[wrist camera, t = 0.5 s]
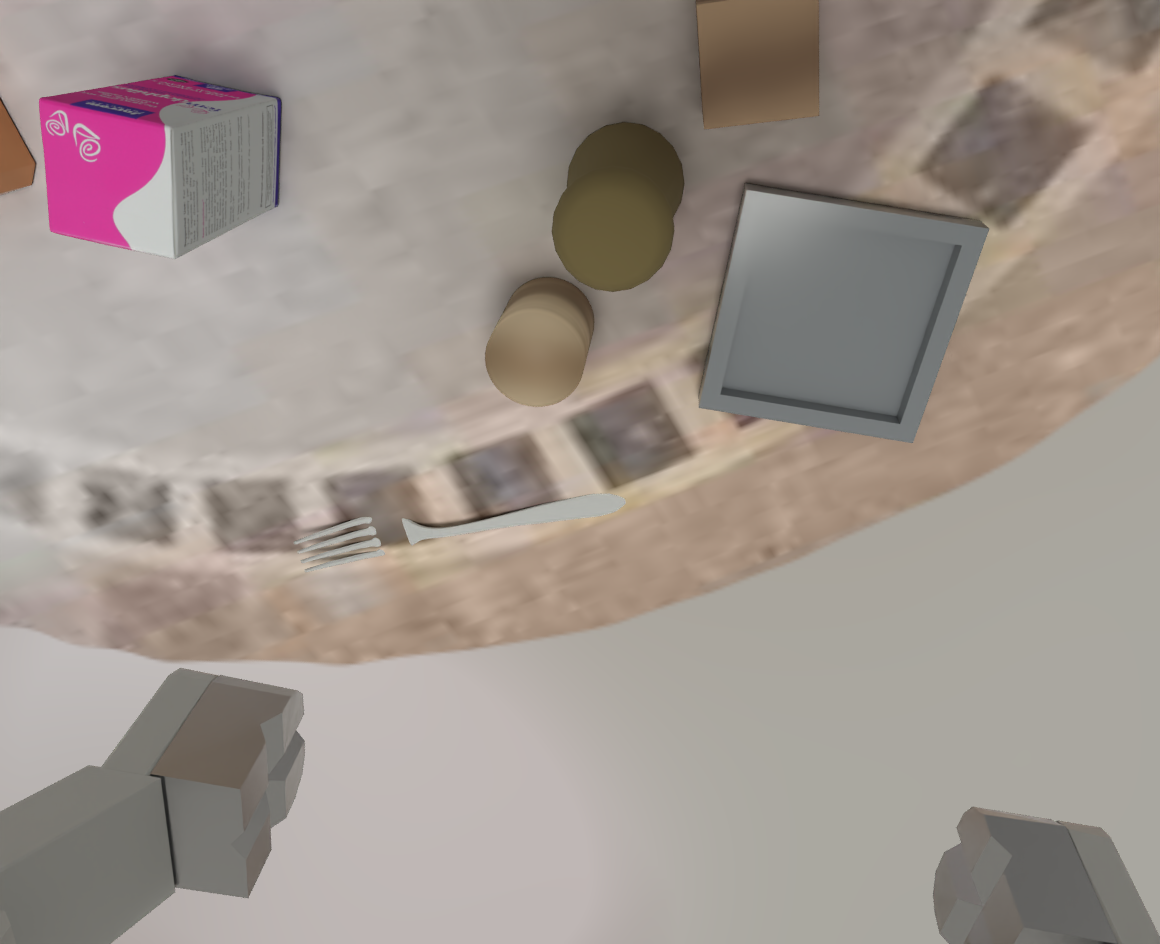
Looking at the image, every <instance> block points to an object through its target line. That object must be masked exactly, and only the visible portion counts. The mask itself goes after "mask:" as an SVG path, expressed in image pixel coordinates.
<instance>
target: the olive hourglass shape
mask: <svg viewBox="0 0 1160 944" xmlns="http://www.w3.org/2000/svg"><path fill="white" fill-rule="evenodd" d="M683 188H684V177H683V170H682V164H681V162H680V160H679V158H678V156H677V154H676V151H675V149H674V147H673V146H672V145H671V144H670V143H669V142H668V141H667V140H666V139H665V138H664V137H663V136H662V135H661V134H660V133H658V132H656V131H654V130H653V129H651V128H649V127H647V126H645V125H642V124H635V123H628V122H622V123H617V124H612V125H606V126H604V127H603V128H601V129H599V130H597V131H596V132H594V133H592V134H590V135H589V136H588V137H587V138H586V139H585V140H584V142H583V143H582V144H581V145H580V146H579V147H578V148H577V150H576V152H575V154H574V156H573V159H572V161H571V163H570V165H569V171H568V180H567V189H566V190H565V191H564V192H563V194H562V196H561V198H560V200H559V202H558V205H557V207H556V209H555V211H554V216H553V226H552V235H553V240H554V245H555V250H556V252H557V254H558V256H559V258H560V259H561V261H562V263H563V265H564V267H565V268H566V270H567V271H569V272H570V273H571V274H572V275H573V276H574V277H575V278H576V279H577V280H578V281H579V282H581V283H583V284H585V285H588V286H590V287H592V288H594V289H597V290H604V291H611V292H615V291H621V290H627V289H632V288H633V287H635V286H637V285H639V284H641V283H643V282H645V281H647V280H649V279H650V278H651V277H652V276H653V275H654V274H655V273H656V272H657V271H658V270H659V269H660V268H661V267H662V266H663V264H664V262H665V260H666V258H667V256H668V254H669V252H670V250H671V246H672V240H673V235H674V223H673V217H674V215H675V213H676V211H677V209H678V207H679V205H680V203H681V200H682V194H683Z"/></svg>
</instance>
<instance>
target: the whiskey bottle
mask: <svg viewBox="0 0 1160 944" xmlns="http://www.w3.org/2000/svg"><path fill="white" fill-rule="evenodd" d="M34 169H35V162H34V160H33V159H32V157H31V155H30V153H29V151H28V150H27V148H26V146H25V144H24V142H23V140H22V139H21V137H20V135H19V133H18V131H17V129H16V128H15V126H14V124H13V122H12V120H11V119H10V117H9V115H8V113H7V111H6V109H5V108H4V106H3V104H2V102H1V100H0V195H3V194H6V193H9V192H12V191H15V190H18V189H21V188H24V187H27V186H30V185H32V180H33V174H34Z"/></svg>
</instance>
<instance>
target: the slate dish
mask: <svg viewBox="0 0 1160 944" xmlns="http://www.w3.org/2000/svg"><path fill="white" fill-rule="evenodd" d="M988 231H989V228H988V227H987V226H986V225H984V224H983V223H982V222H981V221H979V220H973V219H966V218H960V217H954V216H948V215H941V214H935V213H929V212H923V211H916V210H910V209H904V208H898V207H891V206H885V205H879V204H873V203H866V202H860V201H854V200H848V199H841V198H835V197H829V196H823V195H816V194H810V193H804V192H798V191H791V190H785V189H779V188H773V187H766V186H760V185H754V184H748V183H745V185H744V190H743V194H742V199H741V203H740V208H739V213H738V217H737V222H736V226H735V231H734V235H733V240H732V245H731V249H730V254H729V258H728V263H727V267H726V272H725V277H724V281H723V286H722V290H721V295H720V299H719V304H718V309H717V313H716V318H715V322H714V327H713V331H712V336H711V341H710V345H709V350H708V354H707V359H706V363H705V368H704V373H703V377H702V382H701V386H700V391H699V395H698V399H699V408H704V409H710V410H716V411H722V412H728V413H734V414H740V415H746V416H752V417H758V418H764V419H770V420H776V421H782V422H788V423H794V424H800V425H806V426H812V427H818V428H824V429H831V430H837V431H843V432H849V433H855V434H861V435H867V436H873V437H879V438H885V439H891V440H897V441H903V442H909V443H913V441H914V438H915V435H916V433H917V430H918V427H919V424H920V421H921V419H922V416H923V413H924V410H925V407H926V405H927V402H928V399H929V396H930V393H931V391H932V388H933V385H934V382H935V379H936V377H937V374H938V371H939V368H940V365H941V363H942V360H943V357H944V354H945V351H946V349H947V346H948V343H949V340H950V337H951V335H952V332H953V329H954V326H955V323H956V321H957V318H958V315H959V312H960V309H961V307H962V304H963V301H964V298H965V295H966V293H967V290H968V287H969V284H970V281H971V279H972V276H973V273H974V270H975V267H976V265H977V262H978V259H979V256H980V253H981V251H982V248H983V245H984V242H985V239H986V237H987V234H988Z"/></svg>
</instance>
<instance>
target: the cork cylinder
mask: <svg viewBox="0 0 1160 944" xmlns="http://www.w3.org/2000/svg"><path fill="white" fill-rule="evenodd" d="M593 330H594V314H593V310H592V307H591V305H590V303H589V301H588V299H587V298H586V296H585V295H584V294H583V293H582V291H580V290H579V289H578V288H577V287H576V286H574V285H573V284H571V283H569V282H567V281H565V280H562V279H558V278H553V277H542V278H537V279H533V280H531V281H528V282H526V283H525V284H523V285H522V286H521V287H519V288H518V289H517V290H516V291H515V292H514V294H513V295H512V297H511V298H510V300H509V302H508V304H507V306H506V308H505V310H504V312H503V314H502V315H501V317H500V319H499V321H498V323H497V325H496V327H495V329H494V331H493V333H492V335H491V337H490V339H489V341H488V344H487V347H486V352H485V362H486V368H487V372H488V374H489V376H490V378H491V380H492V382H493V383H494V385H495V386H496V388H497V389H498V390H499V391H500V392H501V393H502V394H504V395H505V396H506V397H508V398H509V399H511V400H513V401H515V402H517V403H520V404H522V405H527V406H533V407H543V406H549V405H553V404H555V403H558V402H560V401H562V400H564V399H565V398H566V397H568V396H569V395H570V394H571V393H572V392H573V391H574V390H575V388H576V387H577V386H578V384H579V382H580V380H581V377H582V374H583V370H584V366H585V362H586V358H587V354H588V350H589V346H590V342H591V338H592V334H593Z"/></svg>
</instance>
